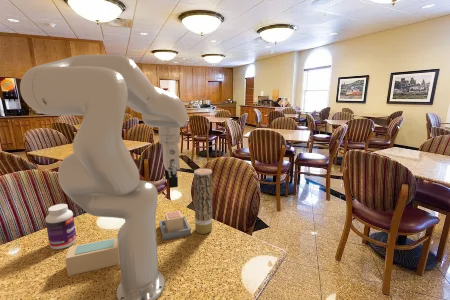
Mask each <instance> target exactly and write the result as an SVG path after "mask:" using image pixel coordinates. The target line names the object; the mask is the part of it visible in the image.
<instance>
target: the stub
mask: <svg viewBox="0 0 450 300" xmlns="http://www.w3.org/2000/svg"><path fill="white" fill-rule="evenodd" d="M183 217H184V216H183V214H182V212H181V210H175V211H169V212H165V213H164V218H165V219H164V220H165V222H166V229H167V232H173V231H178V230H183Z"/></svg>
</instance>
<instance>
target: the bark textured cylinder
mask: <svg viewBox="0 0 450 300" xmlns="http://www.w3.org/2000/svg"><path fill="white" fill-rule="evenodd" d="M193 173H194V176H193V178H194V181H193V182H194V183H193V186H194V219H195V220H194V221H195V222H194V223H195V224H194V225H195V226H194V227H195V228H194V229H195V231H196V233H198V234H202V235H205V234H209V233H211V232H212V230H213V170H212V169H211V168H204V167H203V168H197V169H195V170H194V172H193Z"/></svg>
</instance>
